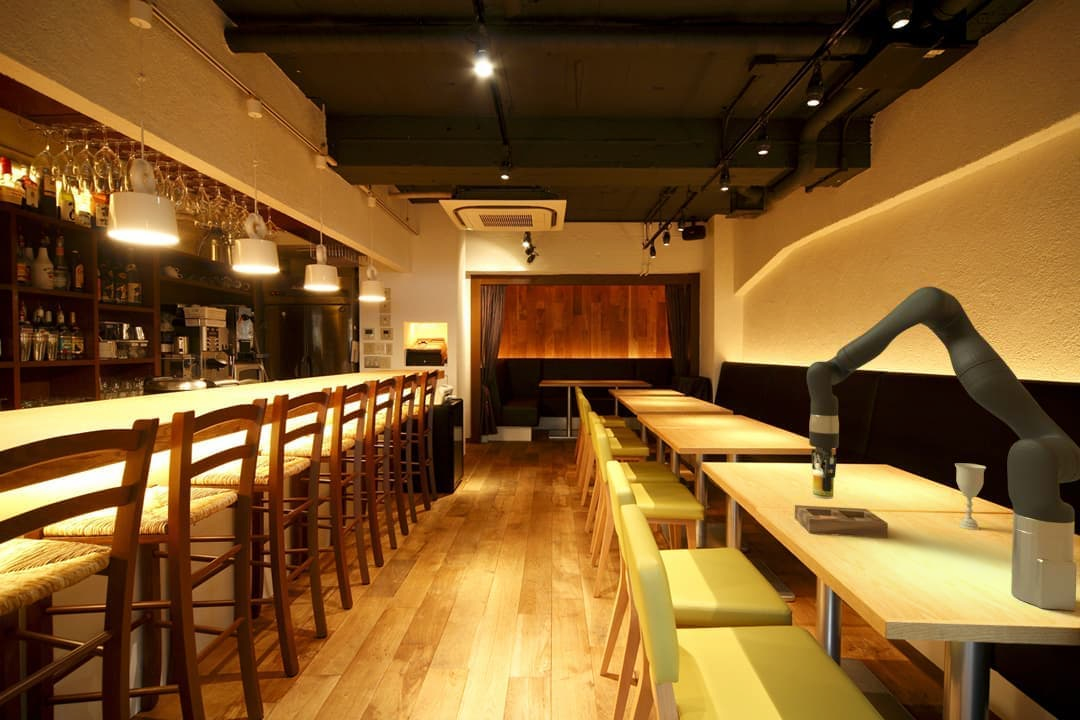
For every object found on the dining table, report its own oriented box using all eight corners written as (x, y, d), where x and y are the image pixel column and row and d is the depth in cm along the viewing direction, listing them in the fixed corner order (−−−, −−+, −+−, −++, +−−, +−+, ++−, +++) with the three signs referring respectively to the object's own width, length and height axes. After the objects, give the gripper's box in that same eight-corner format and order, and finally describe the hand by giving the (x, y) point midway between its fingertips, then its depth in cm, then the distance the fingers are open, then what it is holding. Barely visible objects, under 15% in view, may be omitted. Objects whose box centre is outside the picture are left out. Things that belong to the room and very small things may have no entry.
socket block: (887, 537, 148) (887, 522, 148) (809, 533, 152) (809, 517, 152) (865, 522, 162) (866, 507, 162) (794, 518, 166) (794, 504, 165)
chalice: (955, 528, 157) (956, 466, 157) (950, 521, 163) (952, 462, 163) (987, 532, 154) (989, 469, 153) (981, 525, 160) (983, 464, 159)
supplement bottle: (819, 493, 161) (819, 461, 161) (837, 497, 157) (837, 464, 157) (808, 496, 158) (809, 463, 158) (827, 500, 154) (827, 466, 154)
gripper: (847, 434, 150) (846, 495, 150) (829, 427, 164) (828, 483, 164) (818, 433, 151) (817, 494, 151) (802, 426, 165) (801, 482, 165)
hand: (822, 488), depth 158 cm, fingers closed on supplement bottle, 5 cm apart
